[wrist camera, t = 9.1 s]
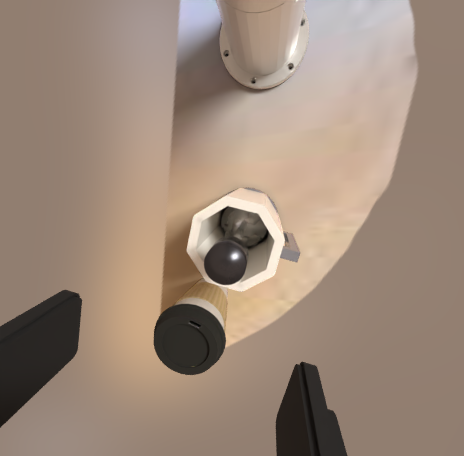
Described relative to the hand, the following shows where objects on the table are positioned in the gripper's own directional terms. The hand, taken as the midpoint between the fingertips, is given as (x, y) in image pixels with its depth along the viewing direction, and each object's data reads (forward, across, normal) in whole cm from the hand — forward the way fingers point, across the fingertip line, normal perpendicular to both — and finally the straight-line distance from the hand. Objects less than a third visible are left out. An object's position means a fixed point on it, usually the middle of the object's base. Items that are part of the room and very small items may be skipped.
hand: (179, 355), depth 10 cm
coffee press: (+33, 0, 0) cm, 33 cm away
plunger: (+29, 0, 0) cm, 29 cm away
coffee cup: (+33, +3, +16) cm, 36 cm away
